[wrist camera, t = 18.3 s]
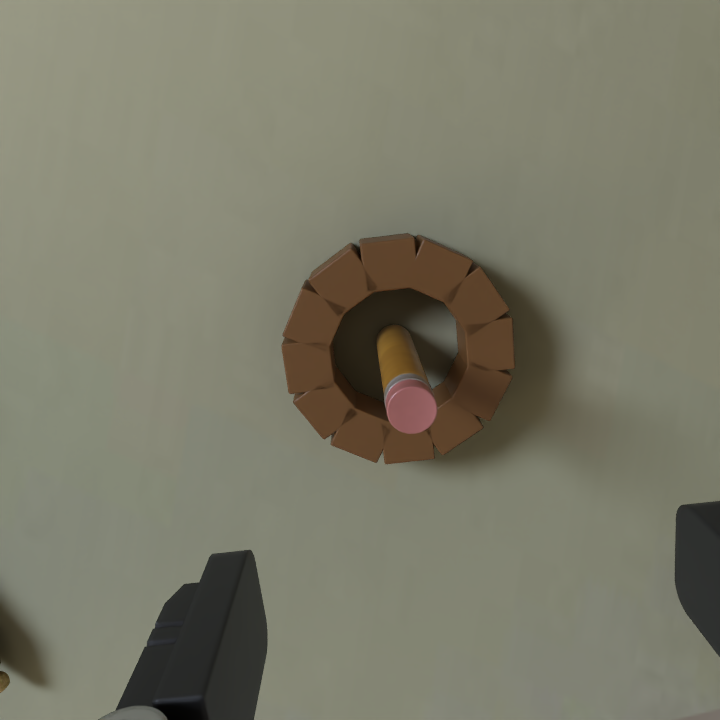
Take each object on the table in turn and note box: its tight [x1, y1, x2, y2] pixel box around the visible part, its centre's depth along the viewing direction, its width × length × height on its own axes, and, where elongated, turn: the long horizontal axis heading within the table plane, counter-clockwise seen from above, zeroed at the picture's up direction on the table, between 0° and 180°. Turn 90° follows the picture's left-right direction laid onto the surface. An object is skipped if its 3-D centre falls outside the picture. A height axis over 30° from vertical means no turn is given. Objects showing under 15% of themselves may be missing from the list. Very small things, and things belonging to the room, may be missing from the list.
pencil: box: [376, 325, 437, 434], centre depth 24 cm, size 2×2×9 cm
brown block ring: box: [282, 233, 515, 464], centre depth 27 cm, size 10×10×2 cm
